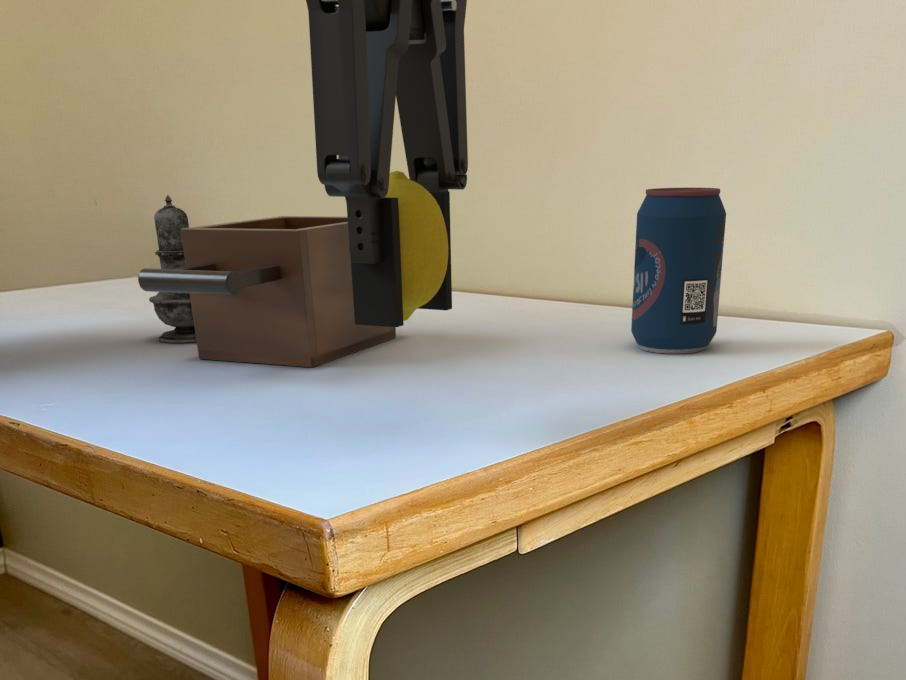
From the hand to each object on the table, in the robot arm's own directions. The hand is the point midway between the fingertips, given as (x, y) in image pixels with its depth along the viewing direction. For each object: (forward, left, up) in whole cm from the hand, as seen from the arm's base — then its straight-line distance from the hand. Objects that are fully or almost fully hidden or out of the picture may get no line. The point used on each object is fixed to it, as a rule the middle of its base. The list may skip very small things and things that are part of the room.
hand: (405, 315), depth 59 cm
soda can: (+8, +31, -7) cm, 33 cm away
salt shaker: (-35, +22, -7) cm, 42 cm away
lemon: (0, 0, -1) cm, 1 cm away
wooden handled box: (-22, +17, -7) cm, 29 cm away
